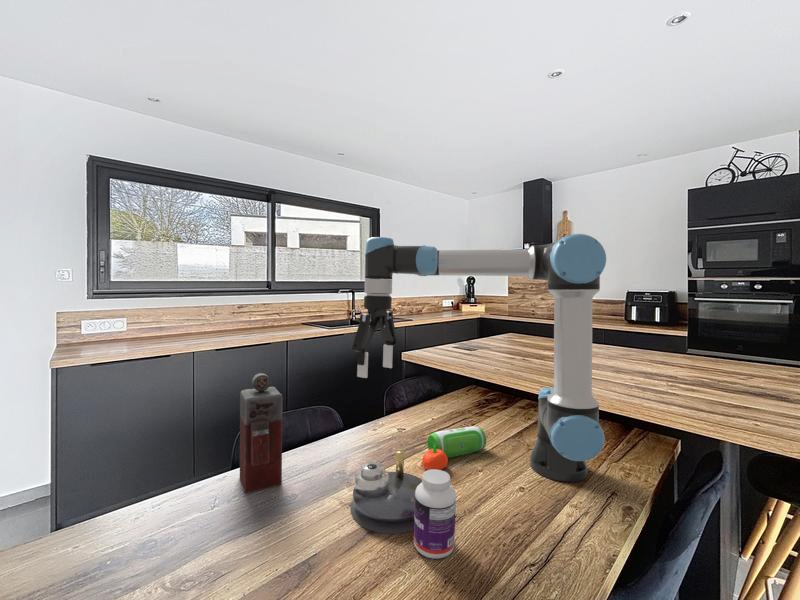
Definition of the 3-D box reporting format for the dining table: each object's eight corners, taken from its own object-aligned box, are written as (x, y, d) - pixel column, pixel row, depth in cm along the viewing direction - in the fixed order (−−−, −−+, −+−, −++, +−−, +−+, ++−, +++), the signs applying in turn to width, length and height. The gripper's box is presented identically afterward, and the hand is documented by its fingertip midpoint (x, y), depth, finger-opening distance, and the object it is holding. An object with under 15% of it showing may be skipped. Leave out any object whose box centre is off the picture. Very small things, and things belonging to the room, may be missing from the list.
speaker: (437, 463, 110) (438, 438, 110) (425, 453, 117) (426, 429, 117) (487, 453, 117) (487, 430, 117) (473, 444, 124) (474, 422, 124)
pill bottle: (411, 534, 78) (413, 466, 78) (449, 532, 79) (451, 465, 79) (416, 562, 70) (418, 487, 70) (458, 561, 71) (461, 486, 71)
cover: (392, 481, 92) (392, 460, 92) (383, 499, 84) (383, 477, 84) (361, 476, 94) (361, 456, 93) (349, 494, 86) (349, 472, 86)
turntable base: (438, 491, 95) (438, 485, 95) (425, 541, 76) (425, 534, 76) (366, 480, 99) (366, 475, 99) (337, 525, 81) (337, 518, 81)
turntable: (437, 485, 94) (438, 453, 94) (425, 530, 77) (426, 492, 76) (367, 474, 99) (368, 444, 98) (340, 515, 81) (341, 479, 81)
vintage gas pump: (246, 498, 90) (246, 382, 89) (239, 476, 100) (240, 372, 99) (284, 488, 95) (285, 378, 93) (274, 469, 104) (275, 368, 103)
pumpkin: (419, 475, 104) (417, 452, 104) (427, 462, 111) (425, 441, 111) (444, 477, 101) (442, 453, 101) (451, 464, 109) (449, 442, 109)
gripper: (387, 293, 116) (385, 362, 117) (339, 294, 94) (337, 379, 94) (409, 294, 112) (407, 365, 113) (365, 296, 90) (362, 384, 91)
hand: (375, 372), depth 104 cm, fingers open, 13 cm apart
